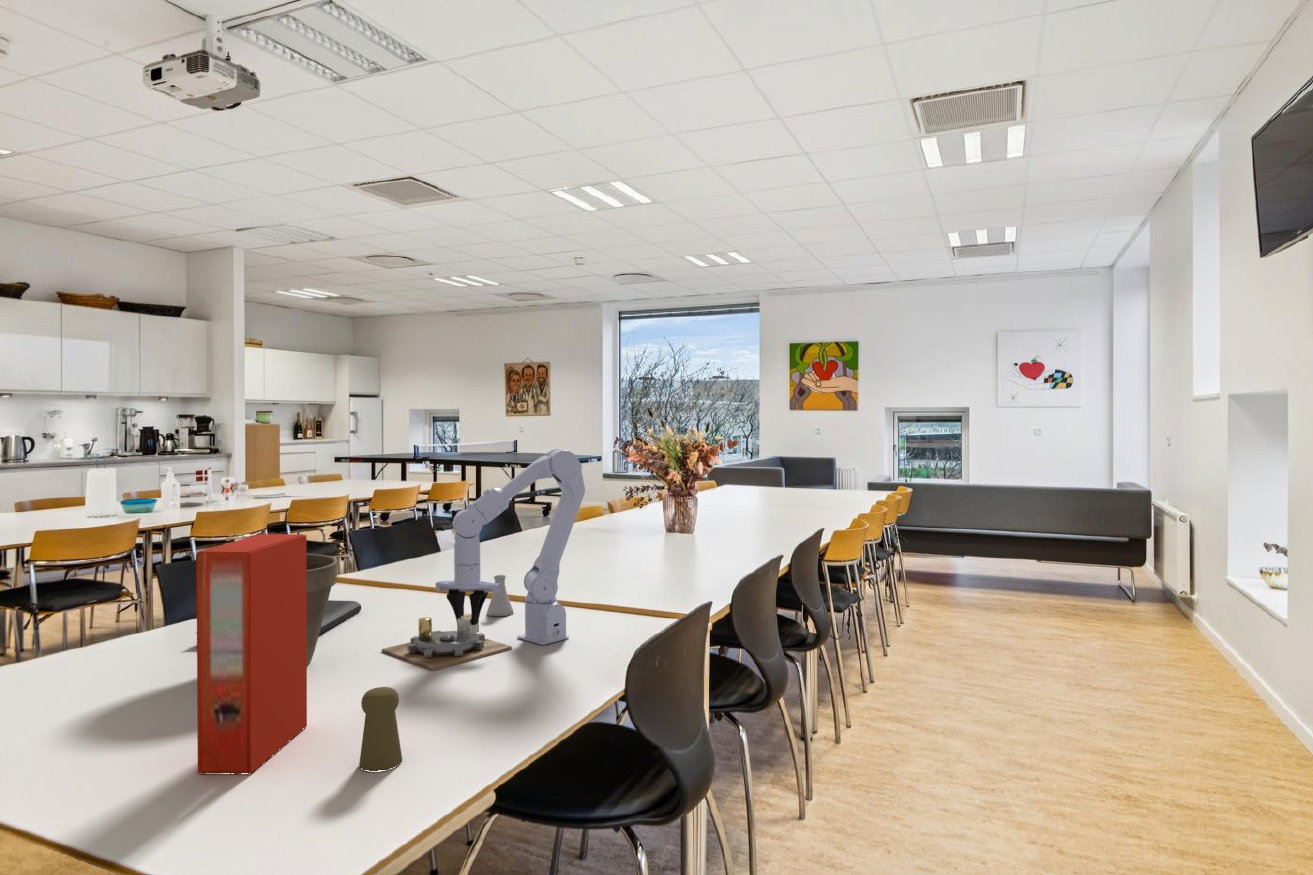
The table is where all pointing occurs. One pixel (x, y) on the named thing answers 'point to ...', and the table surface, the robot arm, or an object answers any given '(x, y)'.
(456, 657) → the board
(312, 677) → the table surface
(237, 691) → the file binder
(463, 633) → the grey rectangular block
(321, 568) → the plant pot
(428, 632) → the sprocket
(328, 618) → the closed laptop
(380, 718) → the olive pawn
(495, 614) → the flask
